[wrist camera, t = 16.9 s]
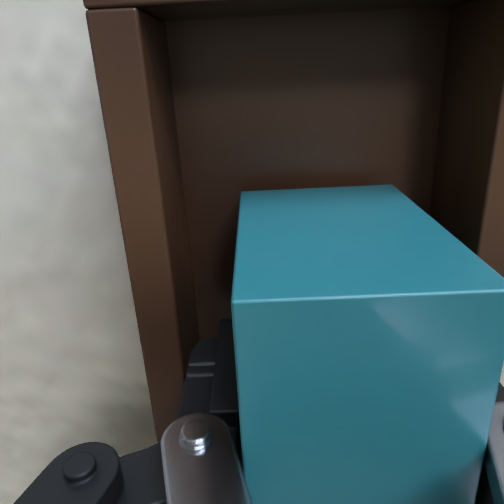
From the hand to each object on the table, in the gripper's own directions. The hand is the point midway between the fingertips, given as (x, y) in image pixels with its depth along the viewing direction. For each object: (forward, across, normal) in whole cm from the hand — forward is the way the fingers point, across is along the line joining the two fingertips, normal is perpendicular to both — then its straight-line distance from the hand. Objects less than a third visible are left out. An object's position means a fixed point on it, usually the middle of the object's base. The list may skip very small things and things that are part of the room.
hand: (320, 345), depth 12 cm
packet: (+1, 0, 0) cm, 1 cm away
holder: (+3, 0, 0) cm, 3 cm away
